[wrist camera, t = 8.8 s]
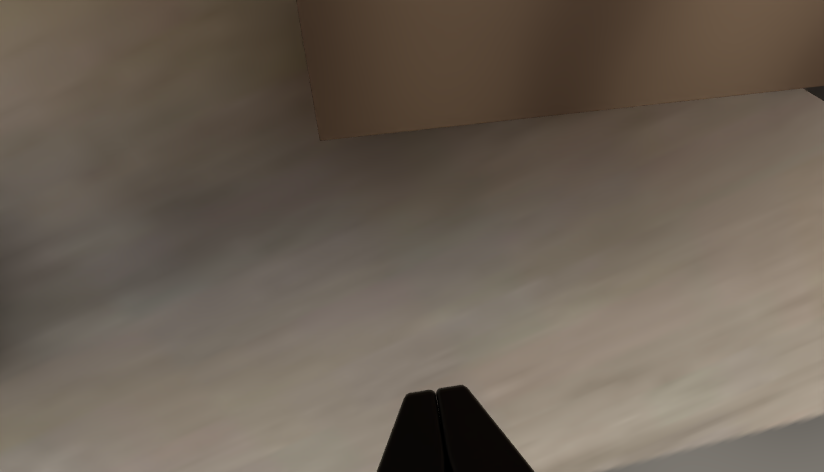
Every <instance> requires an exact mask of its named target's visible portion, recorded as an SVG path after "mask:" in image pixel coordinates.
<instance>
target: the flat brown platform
mask: <svg viewBox="0 0 824 472" xmlns="http://www.w3.org/2000/svg"><path fill="white" fill-rule="evenodd" d="M296 2H297V8H298V14H299V20H300V26H301V32H302V38H303V44H304V50H305V55H306V61H307V67H308V73H309V79H310V85H311V91H312V97H313V103H314V109H315V115H316V121H317V126H318V132H319V138H320V141H322V140H332V139H341V138H350V137H359V136H368V135H378V134H387V133H396V132H405V131H414V130H423V129H433V128H442V127H451V126H460V125H469V124H479V123H488V122H497V121H506V120H515V119H525V118H534V117H543V116H552V115H561V114H570V113H580V112H589V111H598V110H607V109H616V108H626V107H635V106H644V105H653V104H662V103H672V102H681V101H690V100H699V99H708V98H717V97H727V96H736V95H745V94H754V93H763V92H773V91H782V90H791V89H800V88H809V87H819V86H824V0H296Z"/></svg>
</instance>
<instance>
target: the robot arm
mask: <svg viewBox="0 0 824 472" xmlns="http://www.w3.org/2000/svg"><path fill="white" fill-rule="evenodd" d="M436 396H437V398H436ZM437 403H438V404H437ZM438 410H439V411H438ZM439 416H440V417H439ZM377 472H534V470H533V469H532V468H531V467H530V465H529V464H528V463H527V462H526V460H525V459H524V458H523V457H522V455H521V454H520V453H519V452H518V450H517V449H516V448H515V447H514V445H513V444H512V443H511V442H510V440H509V439H508V438H507V437H506V435H505V434H504V433H503V432H502V430H501V429H500V428H499V427H498V425H497V424H496V423H495V422H494V420H493V419H492V418H491V417H490V415H489V414H488V413H487V412H486V410H485V409H484V408H483V407H482V405H481V404H480V403H479V402H478V400H477V399H476V398H475V397H474V395H473V394H472V393H471V392H470V390H469V389H468V388H467V387H466V386H464V385H457V386H451V387H445V388H440V389H438V390H437V392H436V393H435V392H434V391H433V390H425V391H419V392H413V393H408V394H407V395H406V396H405V398H404V400H403V402H402V405H401V408H400V410H399V413H398V416H397V419H396V421H395V424H394V427H393V429H392V432H391V435H390V437H389V440H388V443H387V445H386V448H385V451H384V453H383V456H382V459H381V462H380V464H379V467H378V470H377Z"/></svg>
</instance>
